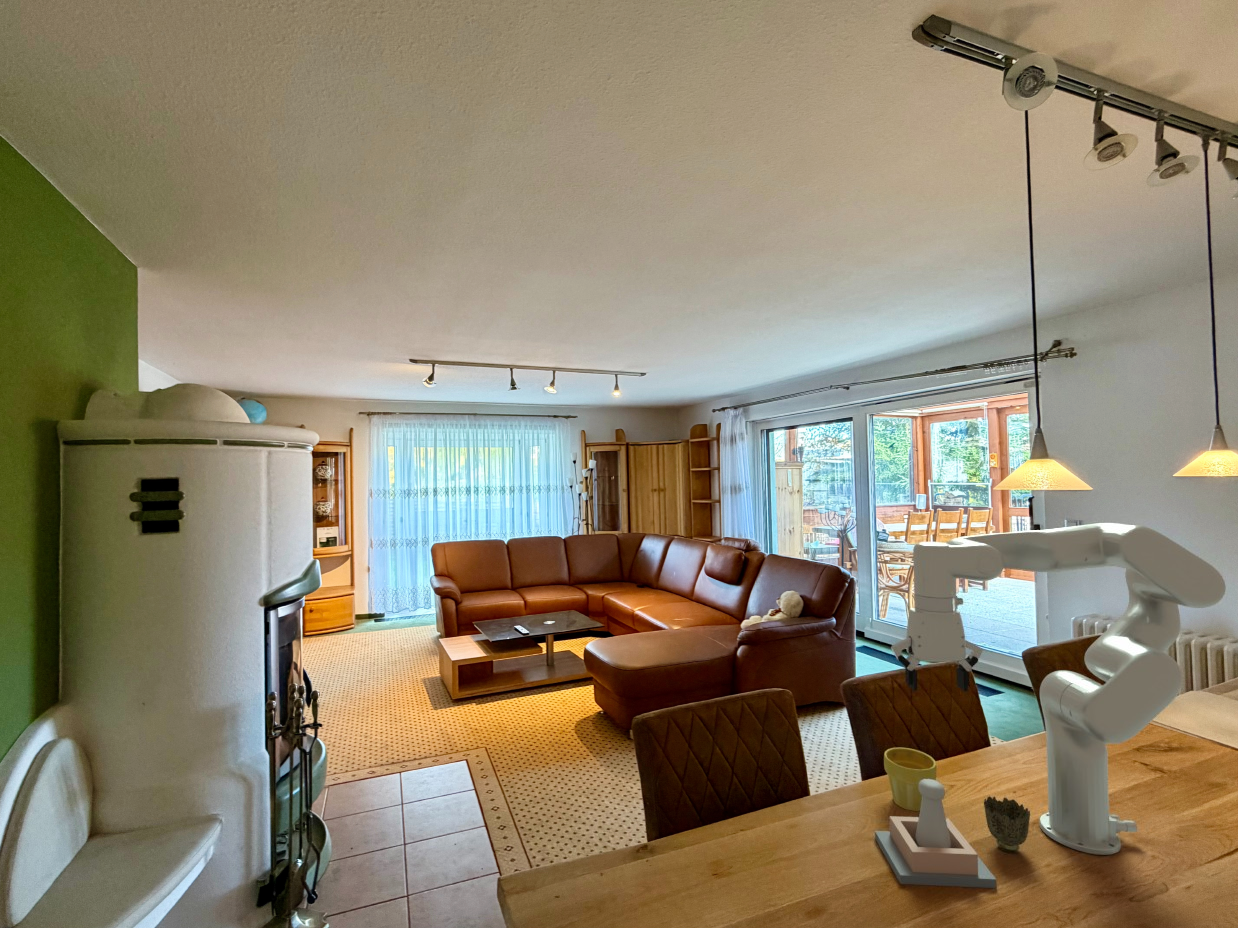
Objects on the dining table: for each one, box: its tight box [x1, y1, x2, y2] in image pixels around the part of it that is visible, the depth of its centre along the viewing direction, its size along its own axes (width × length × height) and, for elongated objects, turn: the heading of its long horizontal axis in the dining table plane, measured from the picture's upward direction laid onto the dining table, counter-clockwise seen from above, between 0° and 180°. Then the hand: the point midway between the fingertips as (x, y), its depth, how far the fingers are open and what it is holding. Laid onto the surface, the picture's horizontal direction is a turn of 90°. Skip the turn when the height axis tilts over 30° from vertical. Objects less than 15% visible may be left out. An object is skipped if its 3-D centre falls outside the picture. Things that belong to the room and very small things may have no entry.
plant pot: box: [883, 747, 937, 812], centre depth 129 cm, size 10×10×10 cm
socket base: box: [874, 815, 998, 889], centre depth 109 cm, size 16×13×5 cm
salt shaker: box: [915, 779, 951, 848], centre depth 109 cm, size 6×6×13 cm
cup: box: [983, 795, 1031, 853], centre depth 113 cm, size 8×7×8 cm
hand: (937, 688), depth 119 cm, fingers open, 9 cm apart
